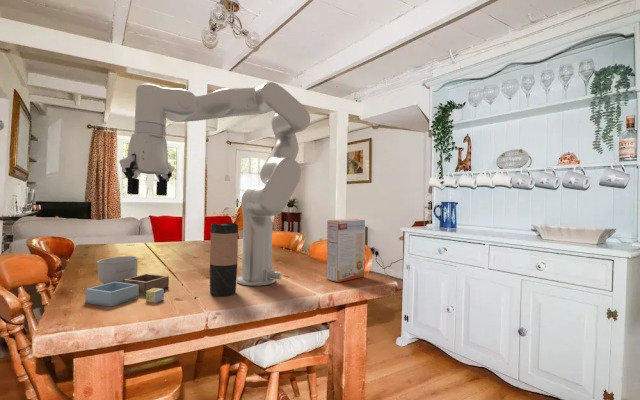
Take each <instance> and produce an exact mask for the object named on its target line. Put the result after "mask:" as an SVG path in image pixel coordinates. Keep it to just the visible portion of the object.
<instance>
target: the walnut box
mask: <svg viewBox="0 0 640 400" xmlns="http://www.w3.org/2000/svg"><path fill="white" fill-rule="evenodd" d="M169 279H170V276H169V275H161V274H155V273H154V274H153V273H144V274H140V275H137V276H135V277H131V278H127V279H123V283H129V284H137V285H139V293H138V295H141V296H146V291H147V290H150V289H152V288H160V289H164V290H166V289H169V288H170V287H169V284H170V283H169V281H170V280H169Z"/></svg>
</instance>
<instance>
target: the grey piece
mask: <svg viewBox="0 0 640 400" xmlns="http://www.w3.org/2000/svg"><path fill="white" fill-rule="evenodd" d="M138 259H139V257H138V256H134V255H129V256H123V255H122V256H114V257H107V258H103V259H99V260H97V261H96V263H97V276H98V280H99V282H100V283H101V284H102V285H103V284H107V283H111V282H122V283H123V279H127V278H131V277H135V276H138V269H139V267H138Z"/></svg>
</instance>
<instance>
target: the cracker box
mask: <svg viewBox="0 0 640 400" xmlns="http://www.w3.org/2000/svg"><path fill="white" fill-rule="evenodd" d="M326 225H327V227H326V233H327V234H326V280H328V281H330V282H331V281H332V282H335V283H341V282H345V281H349V280H354V279H359V278H364V277H365V237H366V233H365V232H366V220H365V219H358V218H352V219H351V218H350V219H349V218H347V219H346V218H345V219H341V218H340V219H328V220H327V224H326Z"/></svg>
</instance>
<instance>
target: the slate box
mask: <svg viewBox="0 0 640 400" xmlns="http://www.w3.org/2000/svg"><path fill="white" fill-rule="evenodd" d="M138 293H139V285H137V284H129V283H122V282H111V283H107V284H103V283H102V284H100V285H96V286H93V287H88V288H85V295H84V297H85V299H84V303H85V304H92V305H97V306H103V307H108V308H112V307H114V306H117V305H120V304H123V303H127V302H129V301H130V302H131V301H133V300H136V299H138V298H139V294H138Z"/></svg>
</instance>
